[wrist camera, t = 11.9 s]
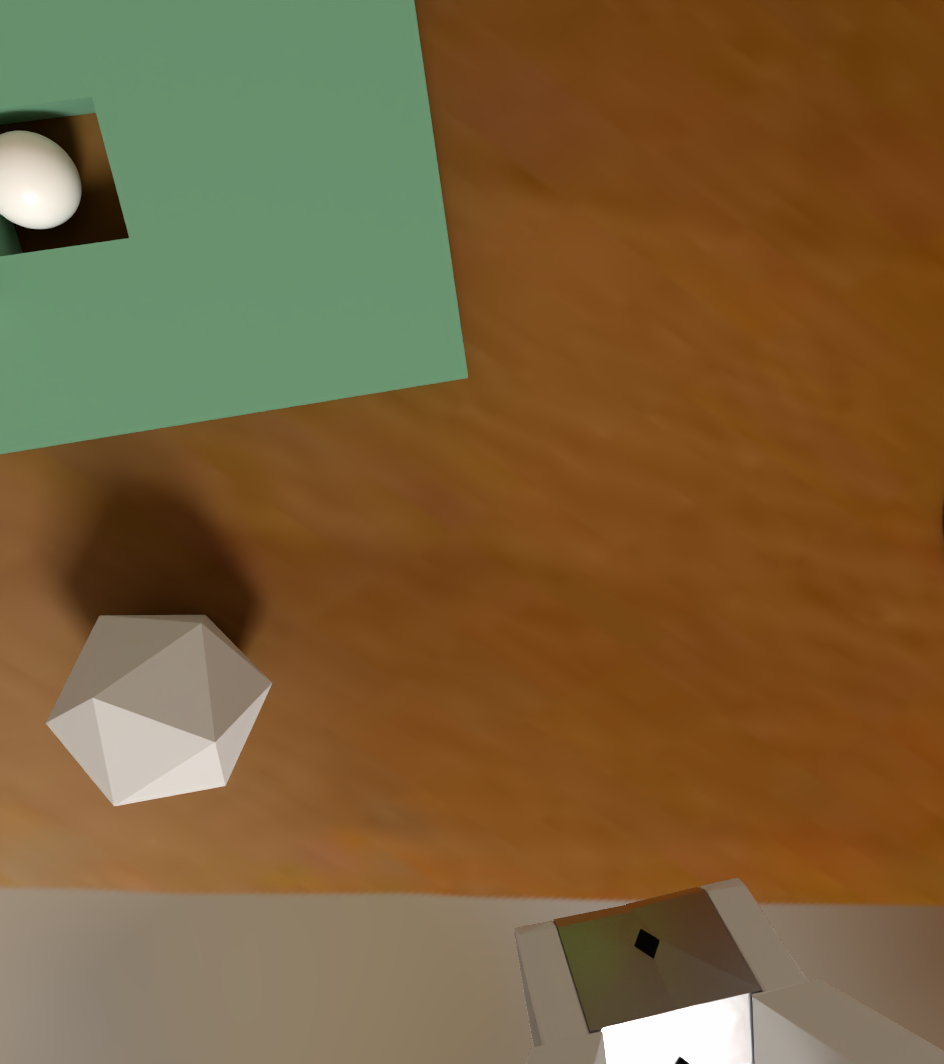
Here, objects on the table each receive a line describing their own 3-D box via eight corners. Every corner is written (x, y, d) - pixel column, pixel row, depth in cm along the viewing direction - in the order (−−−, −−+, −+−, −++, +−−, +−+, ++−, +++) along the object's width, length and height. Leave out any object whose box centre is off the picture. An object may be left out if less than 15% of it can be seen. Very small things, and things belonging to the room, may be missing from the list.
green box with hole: (385, -147, 30) (390, -237, 25) (461, 371, 36) (477, 386, 31) (-157, -91, 28) (-273, -175, 23) (21, 443, 35) (-39, 471, 30)
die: (84, 577, 38) (-32, 765, 32) (215, 549, 34) (111, 758, 28) (196, 665, 43) (115, 842, 37) (321, 650, 39) (253, 844, 33)
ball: (53, 116, 28) (-51, 127, 28) (81, 218, 30) (-18, 231, 29) (76, 135, 32) (-16, 145, 31) (100, 226, 33) (12, 238, 32)
